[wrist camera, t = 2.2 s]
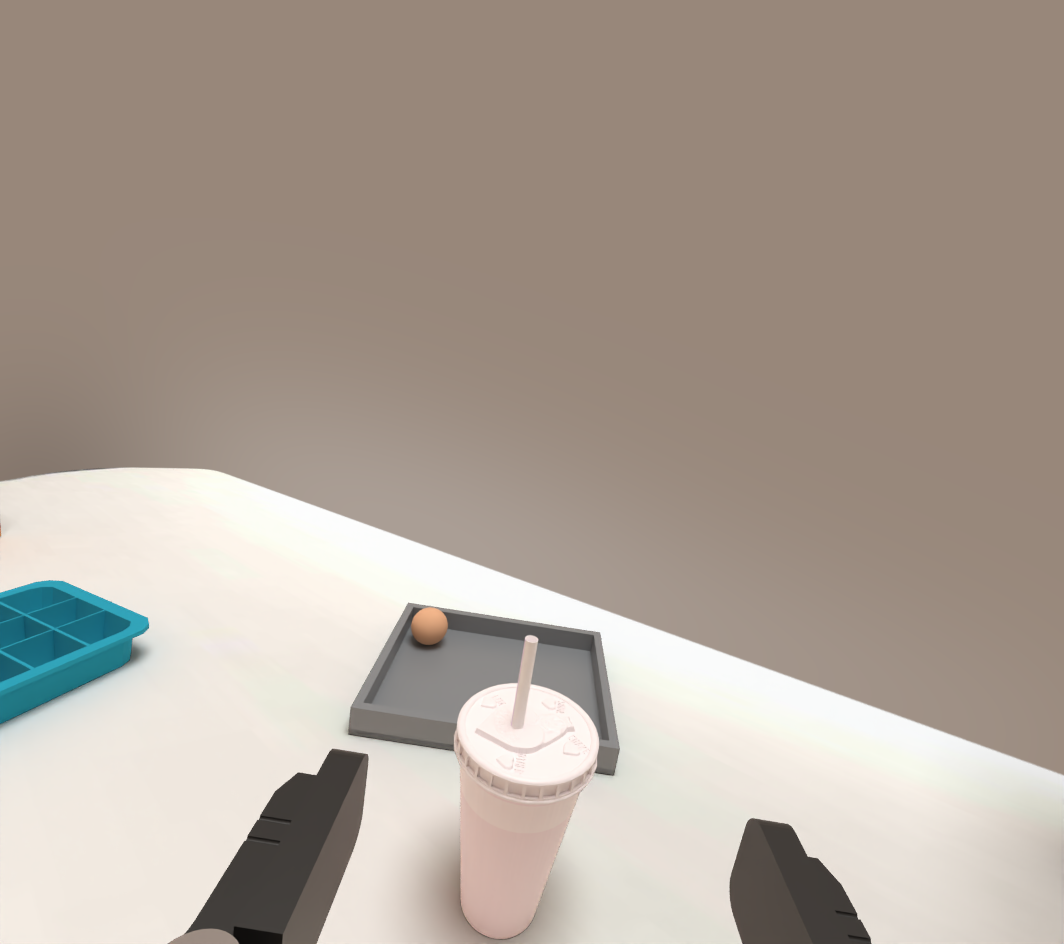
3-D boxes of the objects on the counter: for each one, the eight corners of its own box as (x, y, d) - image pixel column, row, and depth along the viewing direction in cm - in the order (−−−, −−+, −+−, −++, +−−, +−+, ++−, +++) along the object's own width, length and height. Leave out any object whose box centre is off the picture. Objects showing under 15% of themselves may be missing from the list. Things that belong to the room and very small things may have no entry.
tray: (596, 652, 49) (599, 632, 48) (613, 775, 35) (619, 748, 34) (406, 622, 49) (408, 602, 48) (348, 734, 35) (350, 707, 34)
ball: (448, 635, 47) (452, 604, 46) (441, 654, 44) (446, 621, 43) (414, 630, 47) (417, 598, 46) (405, 649, 44) (408, 615, 43)
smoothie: (425, 846, 28) (457, 601, 25) (542, 830, 30) (586, 601, 27) (440, 988, 22) (484, 691, 19) (584, 956, 24) (647, 682, 21)
